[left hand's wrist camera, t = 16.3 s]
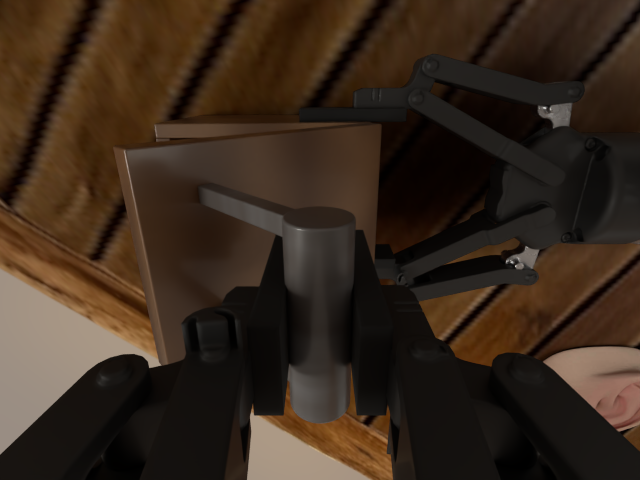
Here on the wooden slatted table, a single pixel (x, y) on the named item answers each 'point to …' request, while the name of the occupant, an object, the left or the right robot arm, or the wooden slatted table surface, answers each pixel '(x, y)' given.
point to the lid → (258, 238)
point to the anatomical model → (604, 380)
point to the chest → (233, 125)
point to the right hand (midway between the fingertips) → (302, 190)
